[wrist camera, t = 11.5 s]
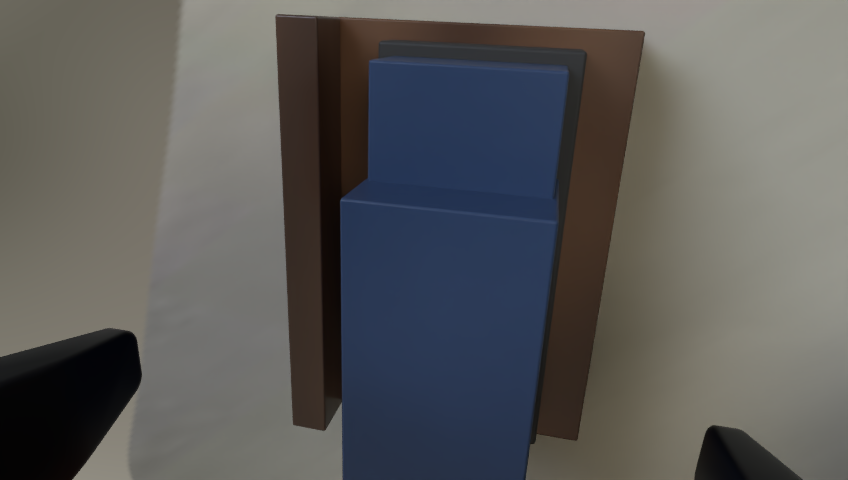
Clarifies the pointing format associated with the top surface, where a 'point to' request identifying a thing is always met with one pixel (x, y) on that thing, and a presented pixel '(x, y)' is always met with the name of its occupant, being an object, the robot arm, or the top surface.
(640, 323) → the top surface
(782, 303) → the top surface
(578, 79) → the stepped blue riser
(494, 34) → the brown boxy piece
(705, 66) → the top surface
